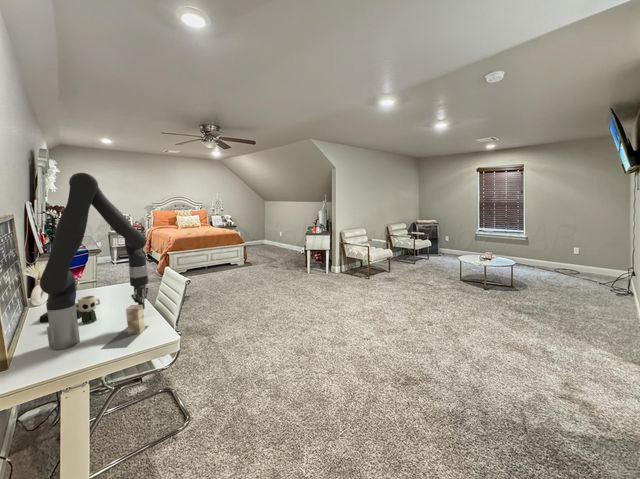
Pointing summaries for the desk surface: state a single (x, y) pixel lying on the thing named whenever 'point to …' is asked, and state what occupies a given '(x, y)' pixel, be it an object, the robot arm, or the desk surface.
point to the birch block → (135, 319)
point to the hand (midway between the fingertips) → (141, 309)
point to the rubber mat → (122, 340)
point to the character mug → (87, 308)
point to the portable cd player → (45, 316)
